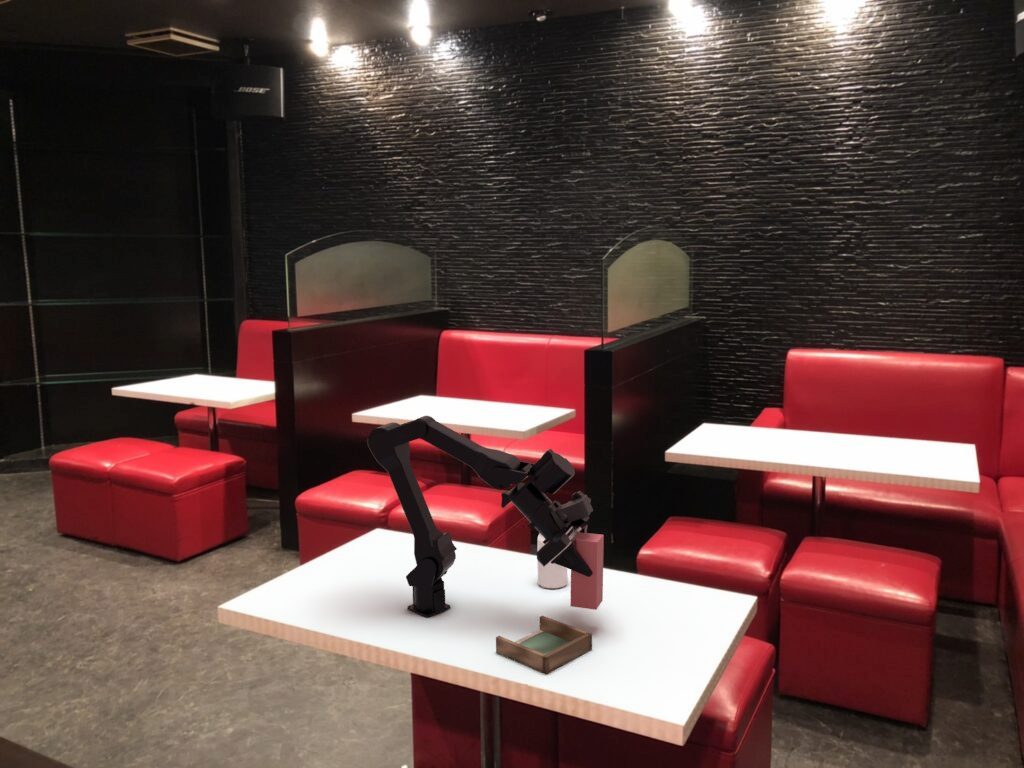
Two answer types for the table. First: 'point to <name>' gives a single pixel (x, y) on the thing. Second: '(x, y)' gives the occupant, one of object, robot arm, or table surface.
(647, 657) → the table surface
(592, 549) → the post
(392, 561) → the table surface
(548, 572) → the can
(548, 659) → the box
